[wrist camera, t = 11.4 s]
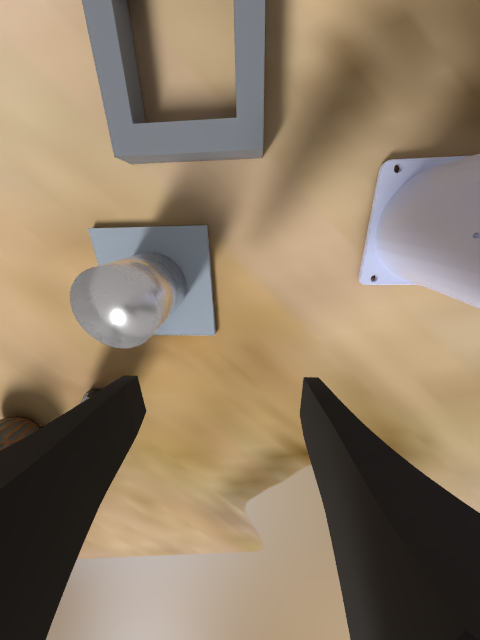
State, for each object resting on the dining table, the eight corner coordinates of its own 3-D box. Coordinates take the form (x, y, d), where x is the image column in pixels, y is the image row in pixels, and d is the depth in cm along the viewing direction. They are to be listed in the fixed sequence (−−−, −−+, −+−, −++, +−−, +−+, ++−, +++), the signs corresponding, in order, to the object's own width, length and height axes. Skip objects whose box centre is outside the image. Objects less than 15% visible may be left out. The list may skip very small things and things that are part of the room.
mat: (207, 225, 17) (206, 225, 16) (215, 332, 20) (214, 335, 20) (92, 228, 17) (88, 228, 17) (120, 332, 21) (117, 334, 21)
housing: (265, -61, 11) (266, -115, 9) (262, 158, 15) (263, 149, 13) (93, -41, 12) (63, -89, 10) (130, 164, 15) (114, 156, 14)
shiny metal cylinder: (183, 252, 17) (150, 268, 12) (188, 313, 19) (161, 350, 14) (120, 250, 17) (58, 264, 12) (131, 310, 19) (83, 345, 14)
